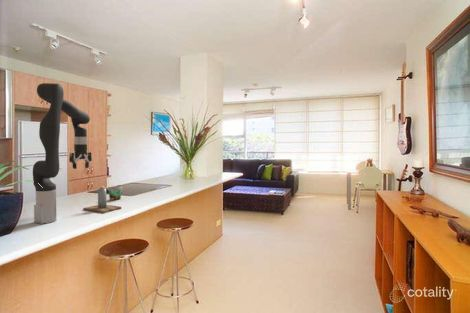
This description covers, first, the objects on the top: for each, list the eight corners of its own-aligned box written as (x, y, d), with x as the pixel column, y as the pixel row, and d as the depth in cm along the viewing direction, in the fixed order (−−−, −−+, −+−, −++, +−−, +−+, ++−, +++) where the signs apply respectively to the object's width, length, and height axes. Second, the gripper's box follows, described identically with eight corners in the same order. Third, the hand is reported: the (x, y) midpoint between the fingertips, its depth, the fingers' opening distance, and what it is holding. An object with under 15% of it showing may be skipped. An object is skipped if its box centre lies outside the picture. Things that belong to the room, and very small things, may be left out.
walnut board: (103, 213, 170) (103, 211, 170) (83, 210, 177) (83, 208, 177) (121, 208, 183) (121, 206, 183) (101, 205, 190) (101, 203, 190)
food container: (115, 201, 205) (115, 187, 204) (108, 200, 206) (108, 187, 205) (125, 198, 217) (125, 185, 216) (118, 197, 218) (118, 185, 217)
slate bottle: (101, 208, 177) (101, 187, 176) (96, 207, 179) (96, 186, 179) (108, 207, 181) (108, 186, 181) (103, 206, 183) (102, 185, 183)
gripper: (74, 143, 174) (74, 169, 175) (94, 143, 187) (94, 167, 188) (66, 143, 177) (66, 168, 178) (86, 143, 190) (86, 167, 191)
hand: (80, 168), depth 183 cm, fingers open, 8 cm apart
